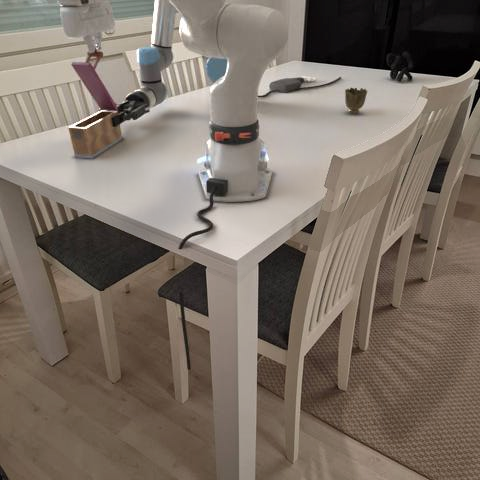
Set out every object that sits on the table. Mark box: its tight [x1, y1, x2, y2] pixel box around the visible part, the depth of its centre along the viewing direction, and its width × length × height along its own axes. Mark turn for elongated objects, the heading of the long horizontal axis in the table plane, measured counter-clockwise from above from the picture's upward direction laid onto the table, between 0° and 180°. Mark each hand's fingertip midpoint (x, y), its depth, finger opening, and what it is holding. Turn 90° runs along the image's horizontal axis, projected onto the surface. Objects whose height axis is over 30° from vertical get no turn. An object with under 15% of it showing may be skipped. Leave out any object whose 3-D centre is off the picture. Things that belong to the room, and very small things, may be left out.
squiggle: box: [385, 51, 414, 83], centre depth 198 cm, size 11×10×15 cm
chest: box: [67, 110, 123, 160], centre depth 131 cm, size 17×6×9 cm, turn 163°
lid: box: [71, 50, 118, 111], centre depth 129 cm, size 18×6×8 cm
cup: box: [344, 87, 368, 115], centre depth 156 cm, size 8×7×8 cm
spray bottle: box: [268, 75, 317, 93], centre depth 194 cm, size 3×11×24 cm
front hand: (95, 51), depth 125 cm, fingers closed
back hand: (104, 121), depth 134 cm, fingers closed on chest, 6 cm apart
